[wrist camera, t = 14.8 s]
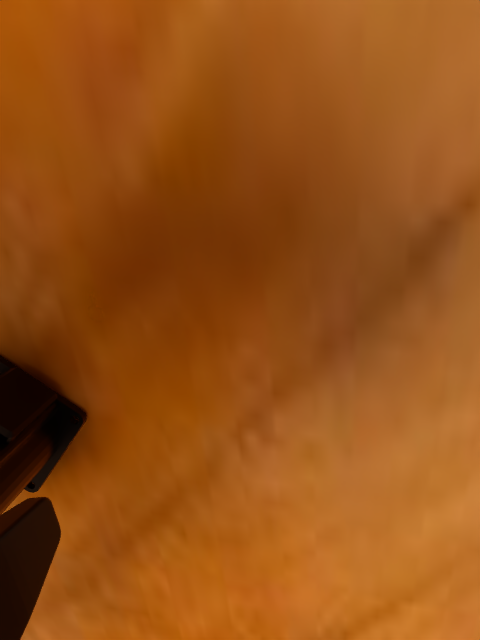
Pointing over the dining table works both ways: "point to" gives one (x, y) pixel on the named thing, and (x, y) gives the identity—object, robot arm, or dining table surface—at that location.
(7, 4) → the dining table surface
